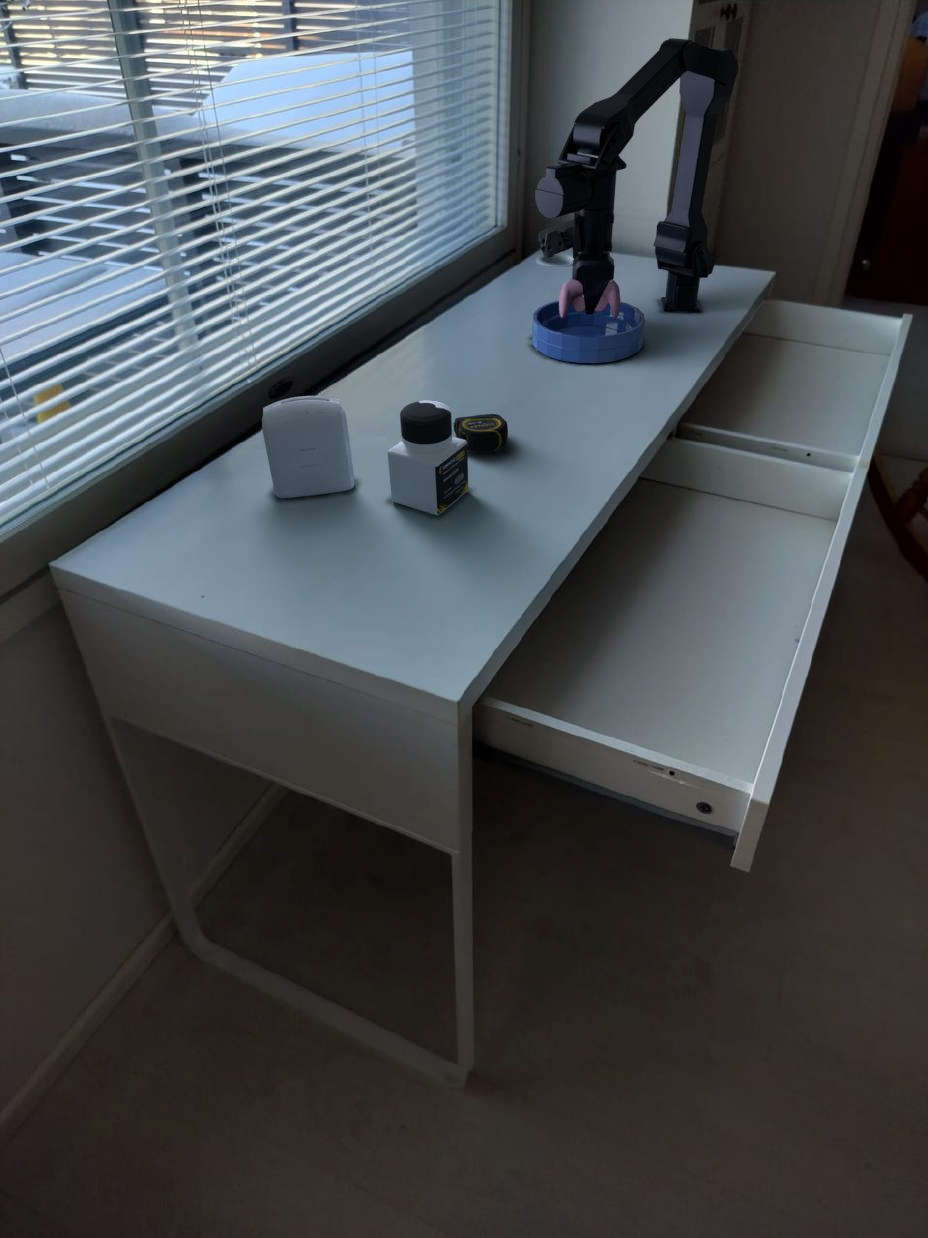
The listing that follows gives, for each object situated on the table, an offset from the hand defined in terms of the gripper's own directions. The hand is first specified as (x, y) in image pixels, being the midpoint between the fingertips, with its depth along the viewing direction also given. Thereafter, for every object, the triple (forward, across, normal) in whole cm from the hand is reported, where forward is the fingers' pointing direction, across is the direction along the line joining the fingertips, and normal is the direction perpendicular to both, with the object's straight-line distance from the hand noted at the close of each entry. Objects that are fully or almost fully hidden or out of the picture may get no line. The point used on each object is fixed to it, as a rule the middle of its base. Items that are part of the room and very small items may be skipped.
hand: (589, 307), depth 145 cm
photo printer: (+6, +50, -35) cm, 61 cm away
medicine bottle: (+6, +51, -20) cm, 55 cm away
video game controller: (+1, 0, 0) cm, 1 cm away
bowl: (+6, 0, 0) cm, 6 cm away
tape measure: (+6, +37, -15) cm, 40 cm away
